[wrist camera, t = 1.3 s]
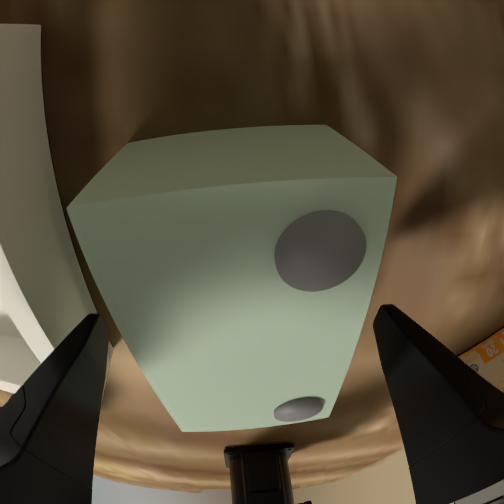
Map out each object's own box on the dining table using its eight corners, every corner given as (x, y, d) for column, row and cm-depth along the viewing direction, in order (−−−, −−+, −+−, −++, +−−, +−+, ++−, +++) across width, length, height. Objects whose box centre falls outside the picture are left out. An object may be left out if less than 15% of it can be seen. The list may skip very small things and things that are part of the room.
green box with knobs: (307, 336, 14) (329, 420, 11) (185, 348, 14) (182, 435, 10) (324, 123, 9) (401, 180, 5) (129, 141, 8) (62, 212, 5)
